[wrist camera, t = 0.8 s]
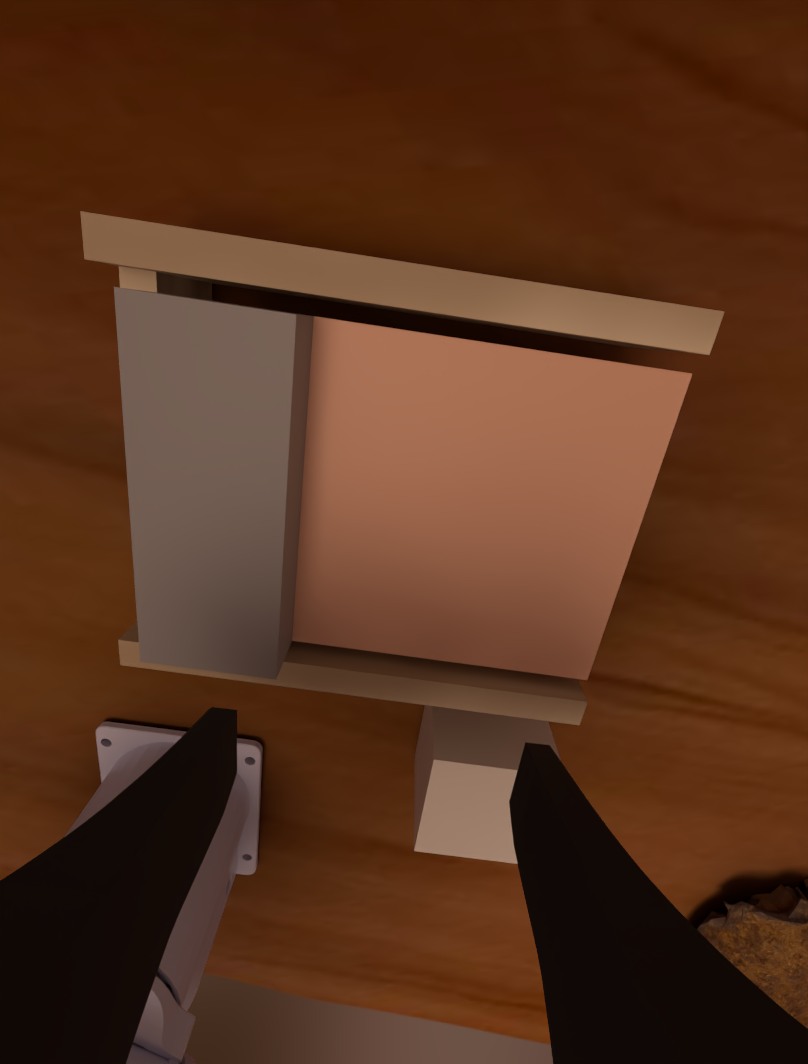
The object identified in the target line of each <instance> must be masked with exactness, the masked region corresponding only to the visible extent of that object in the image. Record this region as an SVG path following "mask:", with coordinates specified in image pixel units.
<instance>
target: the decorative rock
mask: <svg viewBox="0 0 808 1064" xmlns="http://www.w3.org/2000/svg"><path fill="white" fill-rule="evenodd" d="M804 883H805V886H806V888H807V890H806V892H805V895H803V894H802V892H801V891H800V890H799V889H798V887H796V888H794V889H793V888H791V887H789V886H787V887H786V888H785V887H784V886H783V885H782V884H781V885H780V886H778V887H777V888H776V889H775V890H774V891H772V892H771V893H770V894H769V893H764V894H756V895H753V896H751V898H750V900H749V902H748V903H745V902H742V901H741V902H739V903H736V904H734V905H730V904H728V903H727V902H725V901H724V904H725V906H726V907H727V909H728V913H727V915H726V914H722V913H718V912H713V911H711V913H710V914H709V915H708V916H707V918H706V919H705V920H704V921H703V922H702V923H701V925H700V926H699V927H698V929H697V930H698V931H699V932H700V933H701V934H702V935H703V936H704V937H705V938H706V939H707V940H708V941H709V942H710V943H711V944H712V945H713V946H714V947H715V948H716V949H717V950H718V951H719V952H720V953H721V954H722V955H723V956H724V957H726V958H727V959H728V960H729V961H730V962H731V963H732V964H733V965H734V966H735V967H736V968H737V969H739V970H740V971H741V972H742V973H743V974H744V975H745V976H746V977H747V978H748V979H750V980H751V981H752V982H753V983H754V984H755V985H756V986H758V987H759V988H760V989H761V990H762V991H763V992H764V993H766V994H767V995H768V996H769V997H770V998H771V999H772V1000H774V1001H775V1002H776V1003H777V1004H778V1005H779V1006H780V1007H782V1008H783V1009H784V1010H785V1011H786V1012H788V1013H789V1014H790V1015H791V1016H793V1017H794V1018H795V1019H796V1020H797V1021H799V1022H800V1023H801V1024H802V1025H804V1026H805V1027H806V1028H807V1029H808V878H807V879H805V880H804Z"/></svg>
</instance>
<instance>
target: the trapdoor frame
mask: <svg viewBox="0 0 808 1064" xmlns="http://www.w3.org/2000/svg"><path fill="white" fill-rule="evenodd" d="M80 213H81V224H82V235H83V247H84V258H85V259H86V260H91V261H96V262H101V263H106V264H111V265H116V266H119V277H120V288H126V289H134V290H141V291H149V292H157V293H165V294H172V295H179V296H186V297H192V298H199V299H206V300H212V283H213V284H219V285H226V286H232V287H239V288H245V289H252V290H258V291H265V292H271V293H278V294H285V295H291V296H298V297H304V298H311V299H317V300H324V301H330V302H337V303H343V304H350V305H356V306H363V307H370V308H376V309H383V310H389V311H396V312H402V313H409V314H415V315H422V316H428V317H435V318H442V319H448V320H455V321H461V322H468V323H474V324H481V325H487V326H494V327H500V328H507V329H513V330H520V331H527V332H533V333H540V334H546V335H553V336H559V337H566V338H572V339H579V340H585V341H592V342H598V343H605V344H612V345H618V346H625V347H634V348H644V349H654V350H665V351H675V352H685V353H695V354H705V355H710V352H711V349H712V346H713V343H714V340H715V338H716V335H717V332H718V329H719V326H720V323H721V320H722V318H723V315H724V312H723V311H717V310H711V309H704V308H698V307H691V306H685V305H678V304H672V303H666V302H659V301H653V300H646V299H640V298H633V297H627V296H621V295H614V294H608V293H601V292H595V291H589V290H582V289H576V288H569V287H563V286H556V285H550V284H544V283H537V282H531V281H524V280H518V279H511V278H505V277H499V276H492V275H486V274H479V273H473V272H467V271H460V270H454V269H447V268H441V267H434V266H428V265H422V264H415V263H409V262H402V261H396V260H389V259H383V258H377V257H370V256H364V255H357V254H351V253H344V252H338V251H332V250H325V249H319V248H312V247H306V246H300V245H293V244H287V243H280V242H274V241H267V240H261V239H255V238H248V237H242V236H235V235H229V234H222V233H216V232H210V231H203V230H197V229H190V228H184V227H178V226H171V225H165V224H158V223H152V222H145V221H139V220H133V219H126V218H120V217H113V216H107V215H100V214H94V213H88V212H81V211H80ZM118 643H119V654H120V665H124V666H132V667H139V668H147V669H154V670H162V671H170V672H177V673H185V674H192V675H200V676H208V677H215V678H223V679H231V680H238V681H246V682H253V683H261V684H269V685H276V686H284V687H291V688H299V689H307V690H314V691H322V692H329V693H337V694H345V695H352V696H360V697H368V698H375V699H383V700H390V701H398V702H406V703H413V704H421V705H428V706H436V707H444V708H451V709H459V710H466V711H474V712H482V713H489V714H497V715H505V716H512V717H520V718H527V719H535V720H543V721H550V722H558V723H565V724H573V725H580V723H581V720H582V717H583V714H584V711H585V708H586V706H587V703H588V702H587V699H586V697H585V695H584V693H583V691H582V688H581V686H580V684H579V682H578V679H574V678H567V677H559V676H552V675H544V674H537V673H530V672H522V671H515V670H507V669H500V668H492V667H485V666H477V665H470V664H462V663H455V662H447V661H440V660H433V659H425V658H418V657H410V656H403V655H395V654H388V653H380V652H373V651H365V650H358V649H350V648H343V647H335V646H328V645H321V644H313V643H306V642H298V641H292V642H291V644H290V647H289V649H288V652H287V654H286V657H285V659H284V662H283V664H282V667H281V669H280V672H279V674H278V677H277V679H276V680H275V679H267V678H260V677H252V676H244V675H237V674H229V673H222V672H214V671H206V670H199V669H191V668H184V667H176V666H168V665H161V664H153V663H146V662H140V651H139V637H138V623H137V621H136V622H135V623H134V624H133V625H132V626H131V627H130V628H129V629H128V630H127V631H126V632H125V633H124V634H123V635H122V636H121V637H120V638H119V640H118Z"/></svg>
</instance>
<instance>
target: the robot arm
mask: <svg viewBox="0 0 808 1064" xmlns="http://www.w3.org/2000/svg"><path fill="white" fill-rule="evenodd" d="M108 739H109V740H108ZM96 741H97V750H98V758H99V767H100V775H101V785H100V786H99V788H98V789H97V791H96V792H95V794H94V795H93V796H92V798H91V799H90V801H89V802H88V804H87V805H86V807H85V808H84V809H83V811H82V812H81V814H80V815H79V817H78V818H77V819H76V821H75V822H74V824H73V825H72V827H71V828H70V830H69V831H68V832H67V834H66V835H65V837H64V838H63V839H61V840H60V841H58V842H57V843H56V844H54V845H53V846H51V847H50V848H48V849H47V850H46V851H44V852H43V853H41V854H40V855H38V856H37V857H35V858H34V859H33V860H31V861H30V862H28V863H27V864H25V865H24V866H22V867H21V868H19V869H18V870H16V871H15V872H13V873H12V874H10V875H9V876H7V877H5V878H4V879H2V880H1V881H0V1064H196V1062H195V1061H194V1060H193V1058H192V1057H191V1056H190V1055H187V1054H185V1053H184V1052H185V1049H186V1046H187V1043H188V1040H189V1037H190V1033H191V1031H192V1027H193V1024H194V1021H195V1016H194V1015H193V1014H191V1013H189V1012H187V1010H188V1008H189V1006H190V1004H191V1002H192V1000H193V998H194V996H195V994H196V992H197V989H198V986H199V983H200V980H201V977H202V974H203V971H204V968H205V965H206V962H207V959H208V956H209V953H210V950H211V947H212V944H213V941H214V938H215V935H216V932H217V929H218V926H219V923H220V920H221V917H222V914H223V911H224V908H225V905H226V902H227V899H228V896H229V893H230V890H231V887H232V884H233V881H234V878H235V875H236V874H242V875H251V874H253V873H254V872H255V871H256V868H257V863H258V841H259V819H260V797H261V775H262V752H263V748H262V745H261V744H260V743H259V742H257V741H254V740H248V739H240V738H237V710H231V709H222V708H214V707H212V708H211V709H209V710H208V711H207V712H206V713H205V714H204V715H203V716H202V717H201V718H200V719H199V720H198V721H197V722H196V723H195V724H194V725H193V726H192V727H191V728H190V729H189V730H188V731H187V732H186V731H178V730H170V729H162V728H154V727H147V726H139V725H131V724H123V723H115V722H103V723H101V724H100V725H99V727H98V728H97V729H96ZM249 757H252V758H254V759H252V758H249ZM509 806H510V816H511V826H512V834H513V843H514V849H515V854H516V858H517V863H518V868H519V872H520V877H521V881H522V886H523V890H524V895H525V899H526V904H527V908H528V913H529V917H530V922H531V926H532V931H533V935H534V939H535V944H536V948H537V953H538V959H539V964H540V969H541V975H542V981H543V989H544V996H545V1003H546V1010H547V1018H548V1025H549V1032H550V1040H551V1048H552V1056H553V1064H808V1029H807V1028H806V1027H805V1026H804V1025H802V1024H801V1023H800V1022H799V1021H797V1020H796V1019H795V1018H794V1017H793V1016H791V1015H790V1014H789V1013H788V1012H786V1011H785V1010H784V1009H783V1008H782V1007H780V1006H779V1005H778V1004H777V1003H776V1002H775V1001H774V1000H772V999H771V998H770V997H769V996H768V995H767V994H766V993H764V992H763V991H762V990H761V989H760V988H759V987H758V986H756V985H755V984H754V983H753V982H752V981H751V980H750V979H748V978H747V977H746V976H745V975H744V974H743V973H742V972H741V971H740V970H739V969H737V968H736V967H735V966H734V965H733V964H732V963H731V962H730V961H729V960H728V959H727V958H726V957H724V956H723V955H722V954H721V953H720V952H719V951H718V950H717V949H716V948H715V947H714V946H713V945H712V944H711V943H710V942H709V941H708V940H707V939H706V938H705V937H704V936H703V935H702V934H701V933H700V932H699V931H698V930H697V929H696V928H695V927H694V926H693V925H692V924H691V923H690V922H689V921H688V920H687V919H686V918H685V917H684V916H683V915H682V914H681V913H680V912H679V911H678V910H677V909H676V908H675V907H674V906H673V905H672V903H671V902H670V901H669V900H668V899H667V898H666V897H665V896H664V895H663V894H662V892H661V891H660V890H659V889H658V888H657V887H656V886H655V885H654V884H653V883H652V882H651V880H650V879H649V878H648V877H647V876H646V875H645V874H644V872H643V871H642V870H641V869H640V868H639V866H638V865H637V864H636V863H635V862H634V860H633V859H632V858H631V857H630V855H629V854H628V853H627V852H626V850H625V849H624V848H623V847H622V845H621V844H620V843H619V842H618V840H617V839H616V838H615V836H614V835H613V834H612V833H611V831H610V830H609V829H608V827H607V826H606V825H605V823H604V822H603V821H602V819H601V818H600V816H599V815H598V814H597V812H596V811H595V810H594V808H593V807H592V806H591V804H590V803H589V801H588V800H587V799H586V797H585V796H584V794H583V793H582V791H581V790H580V789H579V787H578V786H577V784H576V783H575V781H574V780H573V778H572V777H571V776H570V774H569V773H568V771H567V770H566V768H565V767H564V765H563V764H562V762H561V761H560V759H559V758H558V756H557V755H556V753H555V752H554V750H553V749H552V748H551V746H550V745H545V744H536V743H527V742H525V745H524V749H523V753H522V756H521V760H520V764H519V767H518V771H517V775H516V778H515V782H514V786H513V789H512V793H511V797H510V800H509Z"/></svg>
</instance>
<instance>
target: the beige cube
mask: <svg viewBox="0 0 808 1064" xmlns="http://www.w3.org/2000/svg"><path fill="white" fill-rule="evenodd" d="M525 742H527V743H536V744H545V745H550V746H551V748H552V749H553V750H554V752H555V753H556V755H557V756H558V758H559V759H560V757H559V754H558V750H557V747H556V744H555V741H554V738H553V735H552V732H551V729H550V726H549V723H548V721H543V720H535V719H527V718H520V717H512V716H505V715H497V714H489V713H482V712H474V711H466V710H459V709H451V708H444V707H436V706H428V705H425V707H424V712H423V717H422V722H421V727H420V732H419V738H418V743H417V748H416V753H415V795H414V851H418V852H426V853H434V854H442V855H450V856H458V857H467V858H475V859H483V860H491V861H499V862H507V863H515V864H518V863H517V858H516V854H515V849H514V843H513V834H512V826H511V816H510V806H509V800H510V797H511V793H512V789H513V786H514V782H515V778H516V775H517V771H518V767H519V764H520V760H521V756H522V753H523V749H524V745H525ZM560 761H561V760H560Z"/></svg>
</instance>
